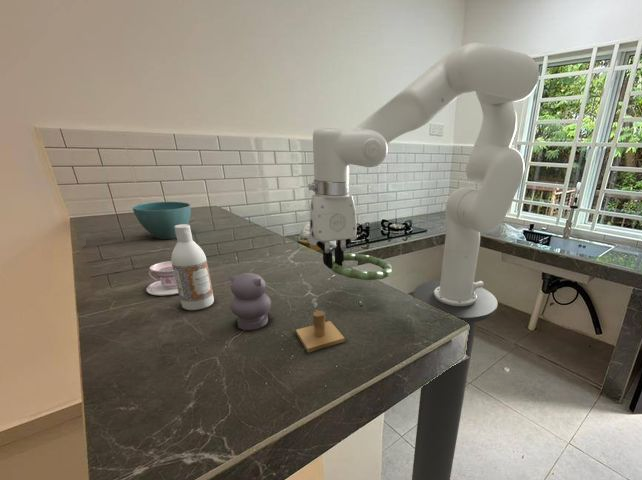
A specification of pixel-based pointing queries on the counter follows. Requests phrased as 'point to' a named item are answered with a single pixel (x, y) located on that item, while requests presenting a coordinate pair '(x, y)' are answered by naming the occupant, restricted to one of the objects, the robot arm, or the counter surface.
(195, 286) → the bath foam
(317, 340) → the stand
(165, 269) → the teacup
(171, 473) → the counter surface
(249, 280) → the cat figurine
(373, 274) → the ring
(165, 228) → the teal bowl
